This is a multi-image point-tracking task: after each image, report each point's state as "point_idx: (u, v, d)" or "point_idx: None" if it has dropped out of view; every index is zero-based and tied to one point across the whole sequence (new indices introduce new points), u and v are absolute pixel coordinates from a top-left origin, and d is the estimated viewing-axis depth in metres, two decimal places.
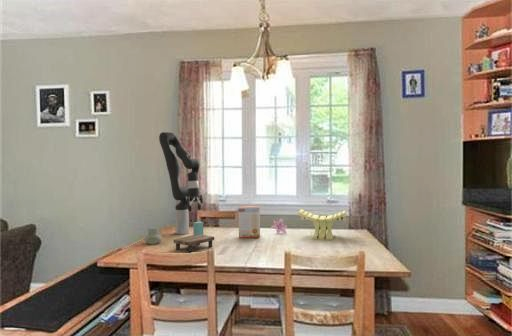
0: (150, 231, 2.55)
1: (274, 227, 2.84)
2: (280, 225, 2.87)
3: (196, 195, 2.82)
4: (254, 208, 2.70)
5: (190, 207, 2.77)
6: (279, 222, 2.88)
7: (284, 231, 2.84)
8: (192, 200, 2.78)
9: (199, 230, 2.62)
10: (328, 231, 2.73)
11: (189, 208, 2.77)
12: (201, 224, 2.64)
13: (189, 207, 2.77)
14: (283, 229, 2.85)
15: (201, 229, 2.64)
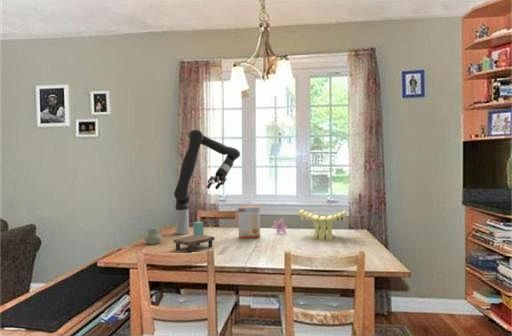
0: (150, 231, 2.55)
1: (274, 227, 2.84)
2: None
3: None
4: (254, 208, 2.70)
5: (219, 186, 2.81)
6: (279, 222, 2.87)
7: (284, 231, 2.84)
8: (221, 182, 2.85)
9: (199, 230, 2.62)
10: (328, 231, 2.73)
11: (219, 186, 2.80)
12: (201, 224, 2.64)
13: (219, 186, 2.80)
14: (283, 229, 2.85)
15: (201, 229, 2.64)
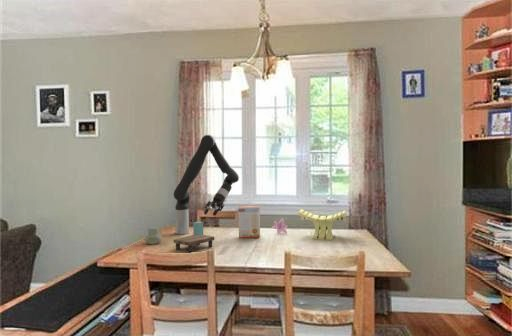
0: (150, 231, 2.55)
1: (275, 227, 2.84)
2: (281, 225, 2.87)
3: None
4: (254, 208, 2.70)
5: (216, 212, 2.71)
6: (280, 222, 2.87)
7: (285, 231, 2.84)
8: (219, 207, 2.75)
9: (199, 230, 2.62)
10: (328, 231, 2.73)
11: (216, 213, 2.70)
12: (201, 224, 2.64)
13: None
14: (283, 229, 2.85)
15: (201, 229, 2.64)
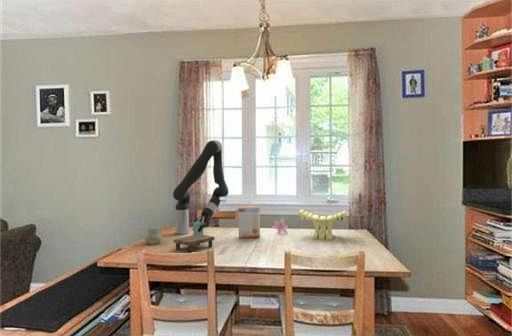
0: (150, 231, 2.55)
1: (275, 227, 2.83)
2: (281, 225, 2.87)
3: None
4: (254, 208, 2.70)
5: None
6: (280, 222, 2.87)
7: (285, 231, 2.84)
8: None
9: None
10: (328, 231, 2.73)
11: None
12: None
13: (202, 228, 2.63)
14: (284, 229, 2.85)
15: None
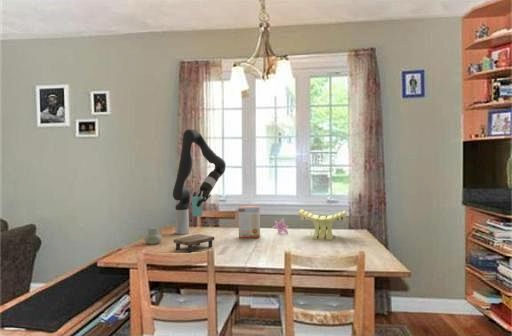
0: (150, 231, 2.55)
1: (275, 227, 2.83)
2: (281, 225, 2.87)
3: None
4: (254, 208, 2.70)
5: (200, 203, 2.53)
6: (280, 222, 2.87)
7: (285, 231, 2.84)
8: None
9: None
10: (328, 231, 2.73)
11: (200, 204, 2.52)
12: None
13: None
14: (284, 229, 2.85)
15: None
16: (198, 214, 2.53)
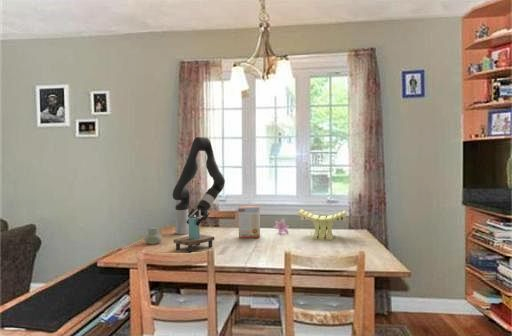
0: (150, 231, 2.55)
1: (276, 227, 2.83)
2: (282, 225, 2.87)
3: None
4: (254, 208, 2.70)
5: (200, 222, 2.41)
6: (281, 222, 2.87)
7: (286, 231, 2.84)
8: (203, 216, 2.45)
9: (195, 227, 2.41)
10: (328, 231, 2.73)
11: None
12: (197, 220, 2.42)
13: None
14: (285, 229, 2.84)
15: (197, 226, 2.42)
16: (195, 236, 2.41)
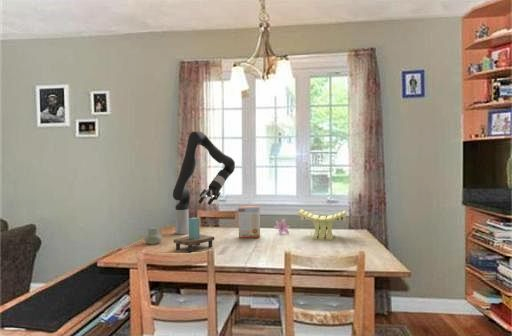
0: (150, 231, 2.55)
1: (277, 227, 2.83)
2: (282, 225, 2.86)
3: None
4: (254, 208, 2.70)
5: (212, 201, 2.51)
6: (281, 222, 2.87)
7: (287, 231, 2.83)
8: None
9: (195, 227, 2.41)
10: (328, 231, 2.73)
11: None
12: (197, 220, 2.42)
13: (212, 201, 2.51)
14: (285, 229, 2.84)
15: (197, 226, 2.42)
16: (195, 236, 2.41)
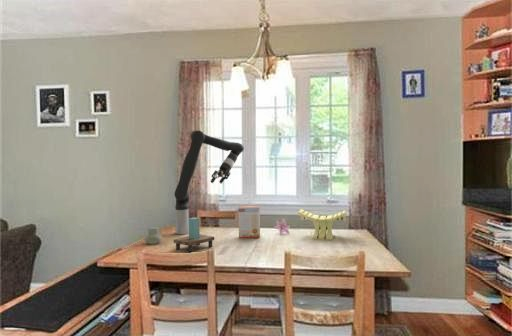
0: (150, 231, 2.55)
1: (277, 227, 2.82)
2: (283, 225, 2.86)
3: None
4: (254, 208, 2.70)
5: (223, 180, 2.81)
6: (282, 222, 2.86)
7: (287, 231, 2.83)
8: None
9: (195, 227, 2.41)
10: (328, 231, 2.73)
11: None
12: (197, 220, 2.42)
13: (223, 180, 2.81)
14: (285, 229, 2.84)
15: (197, 226, 2.42)
16: (195, 236, 2.41)
